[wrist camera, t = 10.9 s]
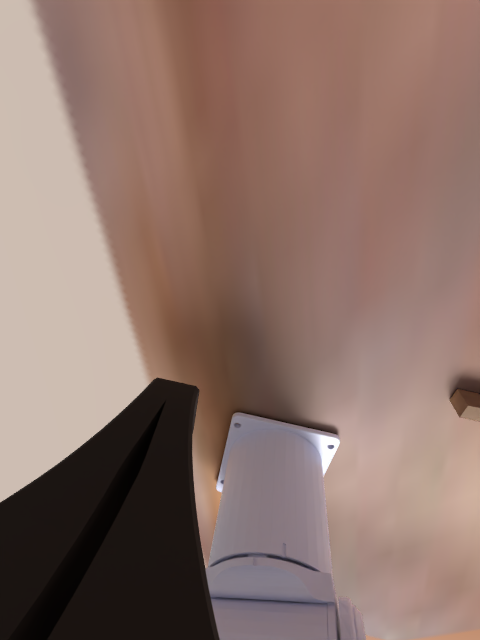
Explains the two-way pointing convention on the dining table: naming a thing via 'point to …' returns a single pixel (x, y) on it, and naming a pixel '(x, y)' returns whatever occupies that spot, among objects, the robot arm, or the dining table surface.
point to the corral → (466, 404)
